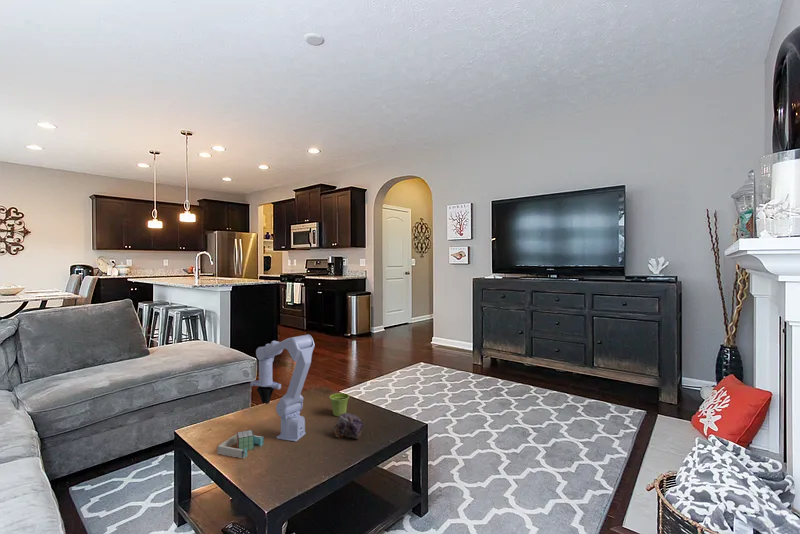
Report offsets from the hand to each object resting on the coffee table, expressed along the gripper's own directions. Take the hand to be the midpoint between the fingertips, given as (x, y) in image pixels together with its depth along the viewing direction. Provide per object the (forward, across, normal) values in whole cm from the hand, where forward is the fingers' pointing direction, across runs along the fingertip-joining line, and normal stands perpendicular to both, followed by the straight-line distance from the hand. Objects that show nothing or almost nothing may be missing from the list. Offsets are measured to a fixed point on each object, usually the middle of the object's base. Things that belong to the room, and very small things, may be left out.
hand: (265, 403), depth 177 cm
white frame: (+10, -4, +22) cm, 24 cm away
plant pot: (+10, -26, -21) cm, 35 cm away
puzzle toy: (+10, -5, +20) cm, 23 cm away
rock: (+10, -40, -2) cm, 41 cm away
